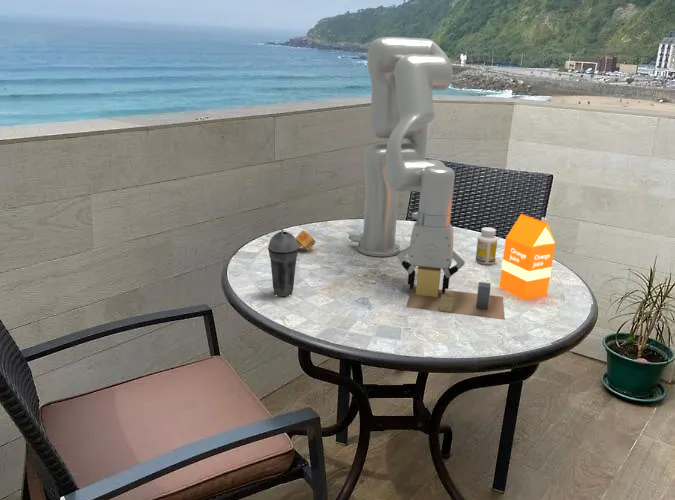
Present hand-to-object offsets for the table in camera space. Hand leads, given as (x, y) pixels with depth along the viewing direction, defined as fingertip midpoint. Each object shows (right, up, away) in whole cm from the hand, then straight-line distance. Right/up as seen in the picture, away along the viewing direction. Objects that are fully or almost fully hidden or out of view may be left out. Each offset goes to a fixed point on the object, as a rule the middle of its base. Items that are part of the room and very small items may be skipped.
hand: (427, 288), depth 143 cm
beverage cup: (-35, -1, -1) cm, 35 cm away
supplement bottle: (+20, +6, +26) cm, 33 cm away
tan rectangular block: (0, -1, 0) cm, 1 cm away
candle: (+34, +4, +21) cm, 40 cm away
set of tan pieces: (-12, +1, +10) cm, 16 cm away
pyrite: (-32, +9, +30) cm, 45 cm away
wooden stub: (+3, -4, -9) cm, 10 cm away
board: (+6, -4, -4) cm, 8 cm away
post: (+11, -4, -7) cm, 14 cm away
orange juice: (+24, -2, +3) cm, 24 cm away
